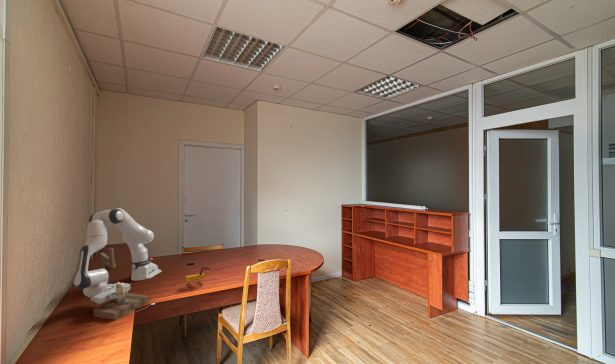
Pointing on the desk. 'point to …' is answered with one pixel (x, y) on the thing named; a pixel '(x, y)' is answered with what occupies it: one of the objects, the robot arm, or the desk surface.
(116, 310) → the peg hole board
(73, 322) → the desk surface
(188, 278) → the robot dog
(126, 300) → the beech peg
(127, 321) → the desk surface
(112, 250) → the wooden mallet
